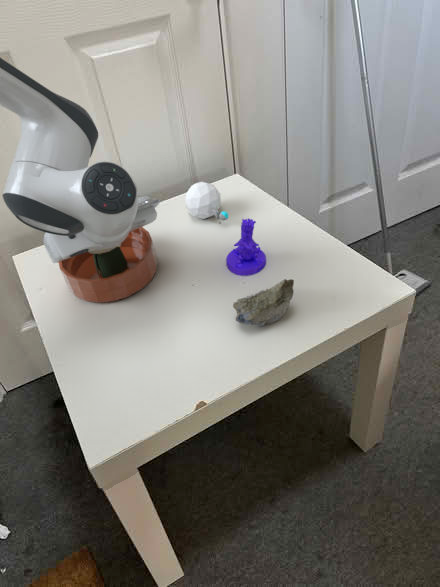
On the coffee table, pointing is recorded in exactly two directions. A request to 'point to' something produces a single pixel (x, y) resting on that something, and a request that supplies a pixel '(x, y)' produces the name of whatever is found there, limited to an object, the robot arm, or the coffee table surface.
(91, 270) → the bowl
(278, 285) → the rock
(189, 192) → the faceted white ball
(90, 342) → the coffee table surface
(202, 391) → the coffee table surface
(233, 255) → the figurine
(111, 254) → the character mug
